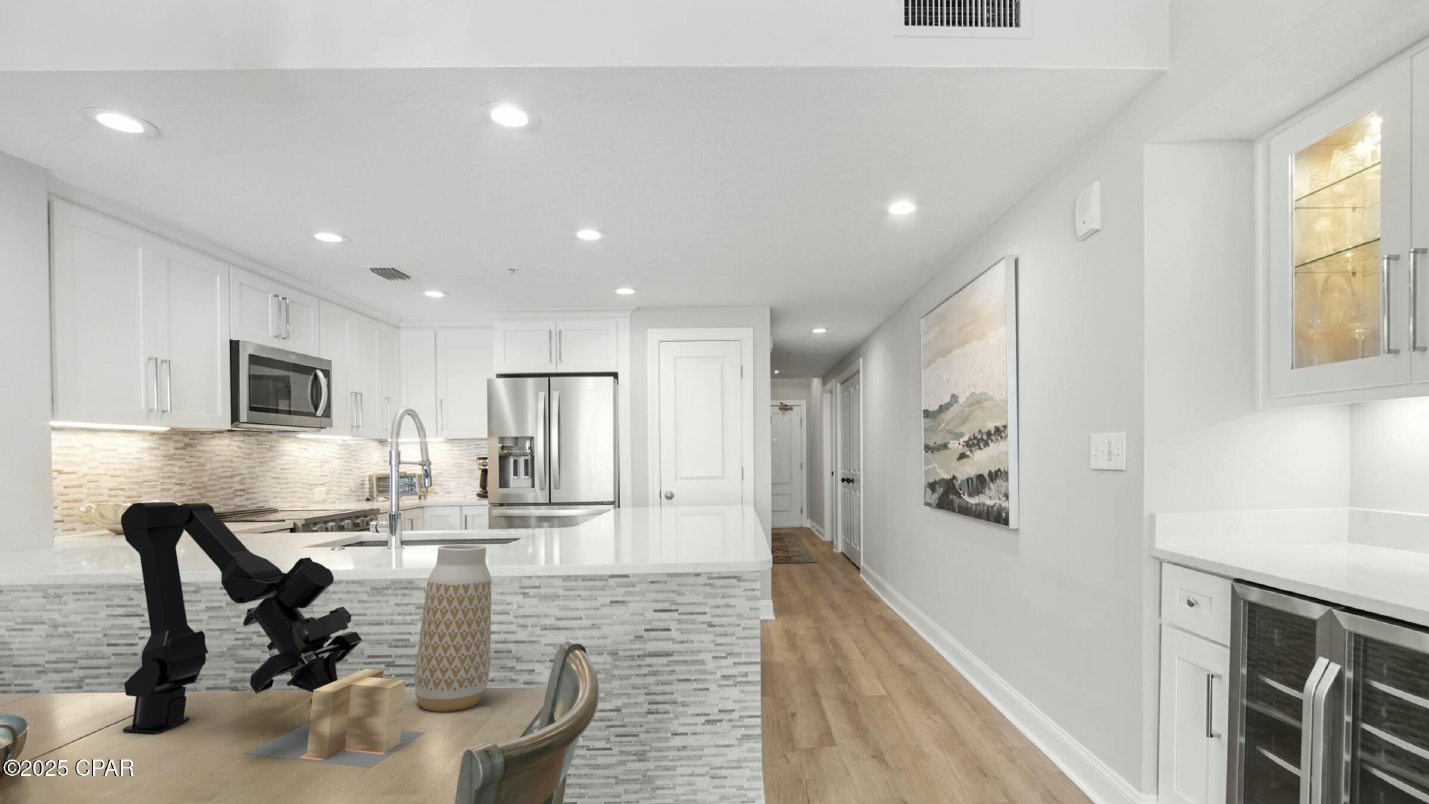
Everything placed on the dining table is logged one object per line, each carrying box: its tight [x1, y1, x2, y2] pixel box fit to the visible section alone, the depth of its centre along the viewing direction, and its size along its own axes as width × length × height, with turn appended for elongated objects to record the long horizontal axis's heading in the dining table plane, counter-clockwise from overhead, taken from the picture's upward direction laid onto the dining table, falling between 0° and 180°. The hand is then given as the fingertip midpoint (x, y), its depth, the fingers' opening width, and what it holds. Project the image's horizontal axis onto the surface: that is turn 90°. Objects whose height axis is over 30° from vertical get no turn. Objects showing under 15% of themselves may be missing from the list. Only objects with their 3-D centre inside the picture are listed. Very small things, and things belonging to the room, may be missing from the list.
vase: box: [414, 543, 492, 713], centre depth 128 cm, size 14×14×31 cm
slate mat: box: [244, 722, 426, 769], centre depth 106 cm, size 22×14×1 cm, turn 81°
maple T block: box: [307, 668, 406, 759], centre depth 106 cm, size 10×12×10 cm
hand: (337, 699), depth 107 cm, fingers closed, pressing on maple T block
